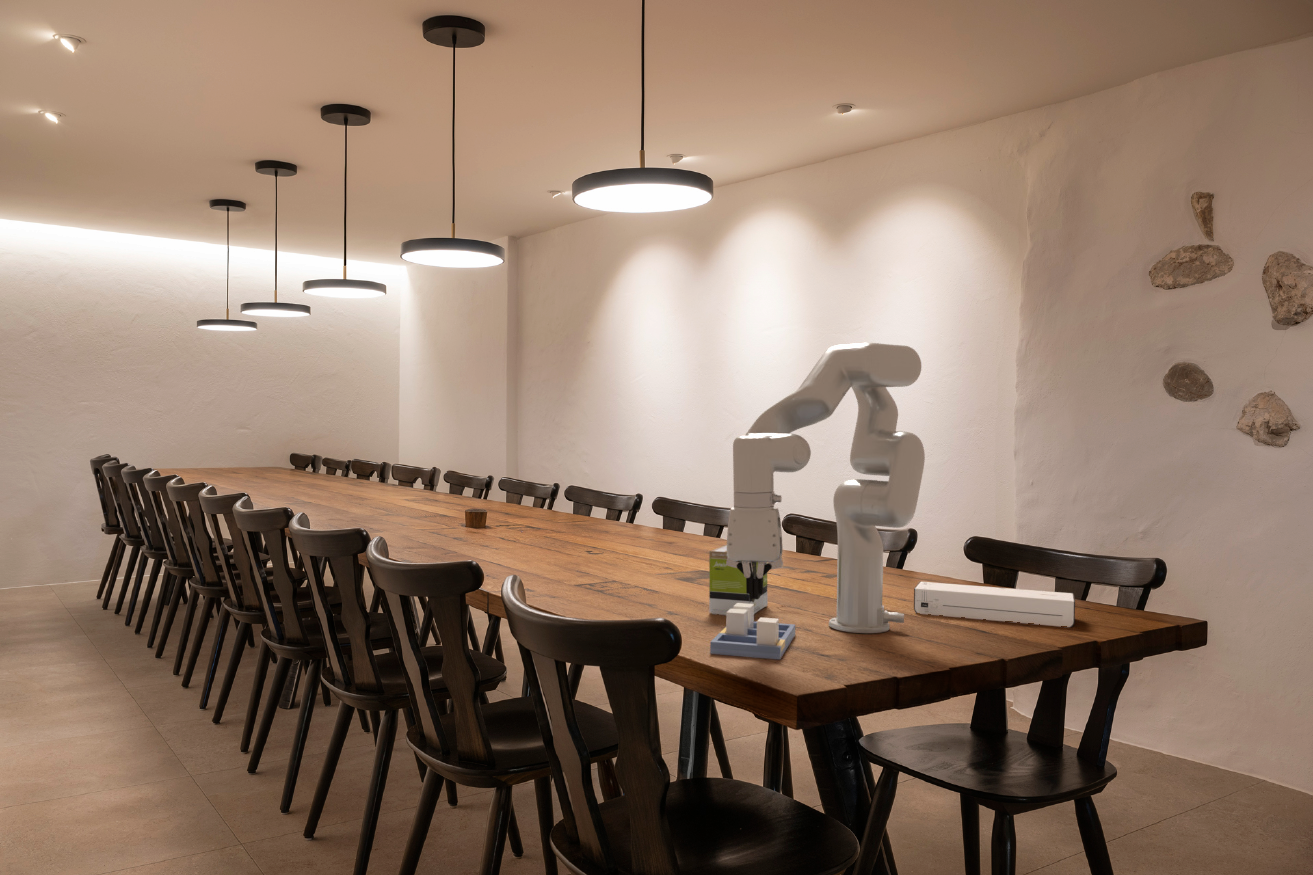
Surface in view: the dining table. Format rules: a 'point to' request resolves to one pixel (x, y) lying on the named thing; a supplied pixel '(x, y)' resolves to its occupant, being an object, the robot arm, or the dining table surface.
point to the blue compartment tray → (752, 643)
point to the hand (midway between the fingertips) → (755, 597)
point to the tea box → (730, 584)
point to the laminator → (995, 603)
